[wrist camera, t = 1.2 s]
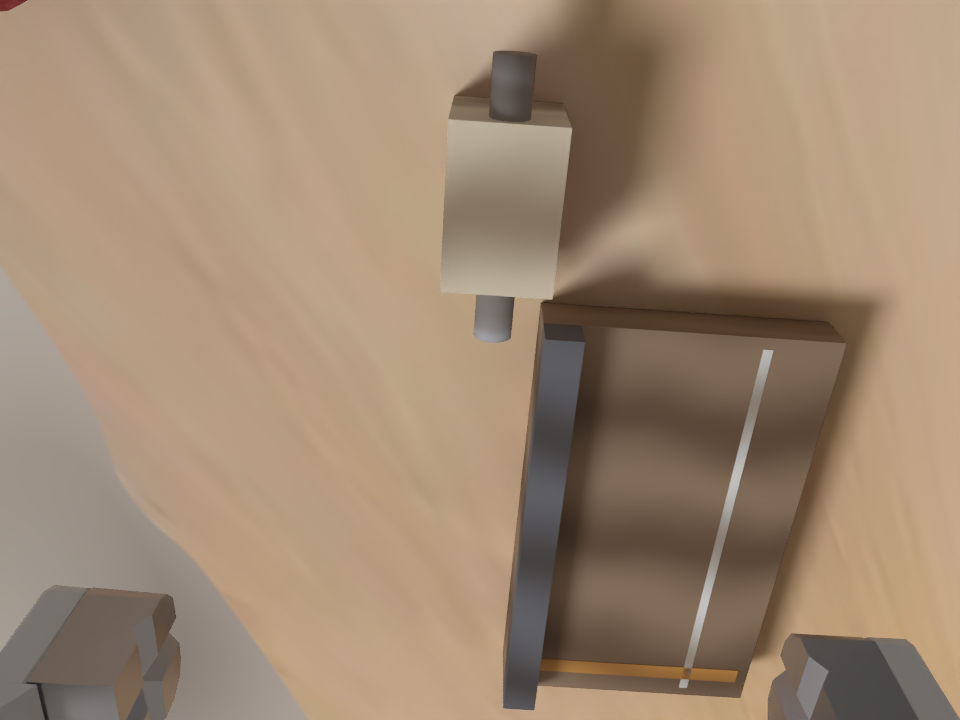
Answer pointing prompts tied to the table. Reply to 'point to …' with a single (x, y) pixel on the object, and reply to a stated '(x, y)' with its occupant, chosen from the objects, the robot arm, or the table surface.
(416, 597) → the table surface
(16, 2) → the onion
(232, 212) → the table surface
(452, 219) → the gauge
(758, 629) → the board
